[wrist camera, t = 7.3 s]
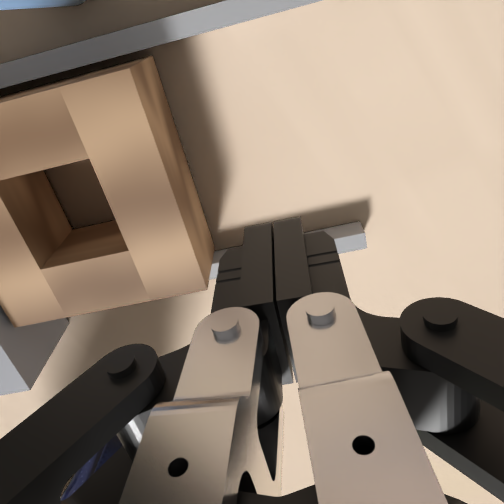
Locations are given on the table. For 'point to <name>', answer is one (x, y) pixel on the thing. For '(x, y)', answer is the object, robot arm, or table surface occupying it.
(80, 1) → the dowel
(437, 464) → the table surface
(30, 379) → the backstop
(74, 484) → the book
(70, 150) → the socket block
